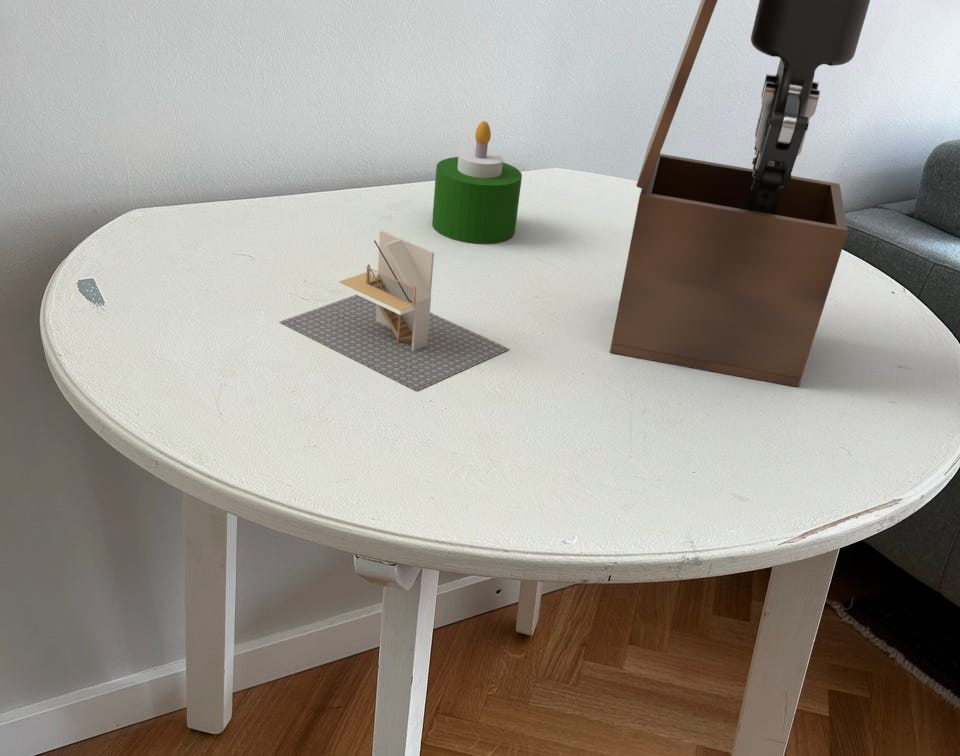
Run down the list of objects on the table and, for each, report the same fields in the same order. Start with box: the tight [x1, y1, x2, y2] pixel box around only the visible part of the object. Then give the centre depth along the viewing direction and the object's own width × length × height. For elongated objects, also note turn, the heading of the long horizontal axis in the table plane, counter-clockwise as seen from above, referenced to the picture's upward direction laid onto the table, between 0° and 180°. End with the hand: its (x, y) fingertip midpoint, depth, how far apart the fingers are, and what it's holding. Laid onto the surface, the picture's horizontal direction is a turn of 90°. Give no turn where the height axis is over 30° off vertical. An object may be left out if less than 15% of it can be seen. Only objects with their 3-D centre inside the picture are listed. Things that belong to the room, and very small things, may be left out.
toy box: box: [609, 153, 849, 388], centre depth 91 cm, size 16×12×13 cm
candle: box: [431, 120, 523, 244], centre depth 107 cm, size 8×8×10 cm
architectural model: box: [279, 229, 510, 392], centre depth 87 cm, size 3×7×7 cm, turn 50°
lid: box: [636, 0, 718, 190], centre depth 82 cm, size 16×12×1 cm
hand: (755, 226), depth 89 cm, fingers closed
